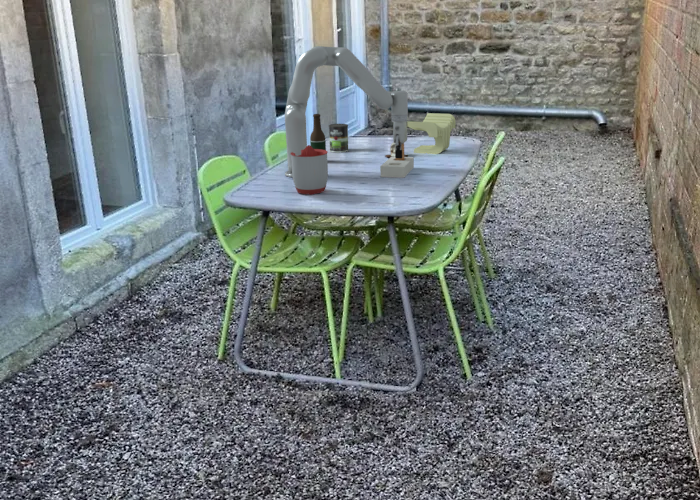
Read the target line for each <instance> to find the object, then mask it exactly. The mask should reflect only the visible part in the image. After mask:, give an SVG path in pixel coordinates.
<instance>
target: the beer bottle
mask: <svg viewBox="0 0 700 500" xmlns="http://www.w3.org/2000/svg"><path fill="white" fill-rule="evenodd" d="M312 117H313V129H312V132H311V134H310V136H309V137H310V138H309V143H310V144H309V145H310V146H311V147H312V148H313V149H322V150H326V151H327V148H326V147H327V145H326V144H327V142H326V135H325V133H324V132H323V130H322V126H321V125H322V124H321V114H320V113H314V114H313V115H312Z"/></svg>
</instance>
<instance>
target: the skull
mask: <svg viewBox="0 0 700 500" xmlns="http://www.w3.org/2000/svg"><path fill="white" fill-rule="evenodd" d="M389 150H390V154H385V155H384V157H386V158H390V157H395V143H394V142H392V143H391V145H390V149H389ZM404 157H409V154H404Z"/></svg>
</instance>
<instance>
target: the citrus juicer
mask: <svg viewBox="0 0 700 500" xmlns="http://www.w3.org/2000/svg"><path fill="white" fill-rule="evenodd" d="M328 153H329V152H328V150H327V149H326V150H322V149H313V148H312V147H311V146H310V144H309V145H308V144H307V147H306V148H305V149H304V150H301V155H299V156H295V153H293V152H291V163H292V175H293V177H292V179H293V183H294V186H295V187H294V188H295V189H296V191H297V193H298V194H301V195H310V196H312V195H315V194H316V195H317V194H321V193H323V192H325V191H326V188H327V183H328V178H329V177H328V175H329V166H328Z"/></svg>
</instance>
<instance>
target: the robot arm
mask: <svg viewBox="0 0 700 500" xmlns="http://www.w3.org/2000/svg"><path fill="white" fill-rule="evenodd" d="M324 66H329V67H331V66H332V67H339V68H340V69H341V70H342V72H343V73H344V74H345V75H346V76H347V77H349V79H351V81H352V82H353V84H355V85H356V86H357V87H358V88H359V89H360V90H362V91H363V92H364V94H366V95H367V96H368V97H369V98H370V99H371V100H372V101H373V102H374V103H375V105H376V106H377V107H378V108H380V109H381V110H388V109H391V113H390V114H391V115H390V116H391V122H392V123H393V128H392V129H393V131H392V141H393V142H394V143H395V158H402V150H401V149H402V144H403V143H404V144H405V143H406V142H407V141H408V127H407V121H408V120H409V117H408V115H409V114H408V113H409V112H408V110H409V109H408V108H409V107H408V105H409V104H408V102H409V101H408V98H409V97H408V92H407V91H406V90H394V91H390V90H389V91H388V90H386V89H385V88H384V86H383V85H382V84H381V83H380V82H379V81H378V80H377V79H376V78H375V76H374V75H373V73H372V72H371V71H370V70H369V69H368V68H367V67H366V66H365V65H364V64H363V63H362V61H360V59H358V57H357V56H356V55H355V54H354V53H353V52H352V51H351V50H350V49H348V48H347V47H341V46H339V47H338V46H322V45H321V46H320V45H317V46H313V47H312V48H311V49H309V50H307V51H305V52H304V53H303V54H302V55H300V56H299V58H298V60H297V62H296V65H295V67H294V73H293V76H292V81H291V85H290V87H289V90H288V92H287V93H288V94H287V100H286V105H285V111H284V125H285V126H284V127H285V128H284V129H285V141H286V157H287V171H285V172H284V175H285V176H286V177H289V178H293V175H292V163H291V152H293V153H295V156H299V155H301V150H304V149H305V148H306V147H307V146H308V139H307V138H308V137H307V117H306V111H307V106H308V102H309V99H310V96H311V86H312V81H313V77H314V72H315V71H316V69H317V68H319V67H324ZM393 142H392V143H393ZM399 142H400V143H399ZM399 144H400V145H399Z"/></svg>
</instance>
